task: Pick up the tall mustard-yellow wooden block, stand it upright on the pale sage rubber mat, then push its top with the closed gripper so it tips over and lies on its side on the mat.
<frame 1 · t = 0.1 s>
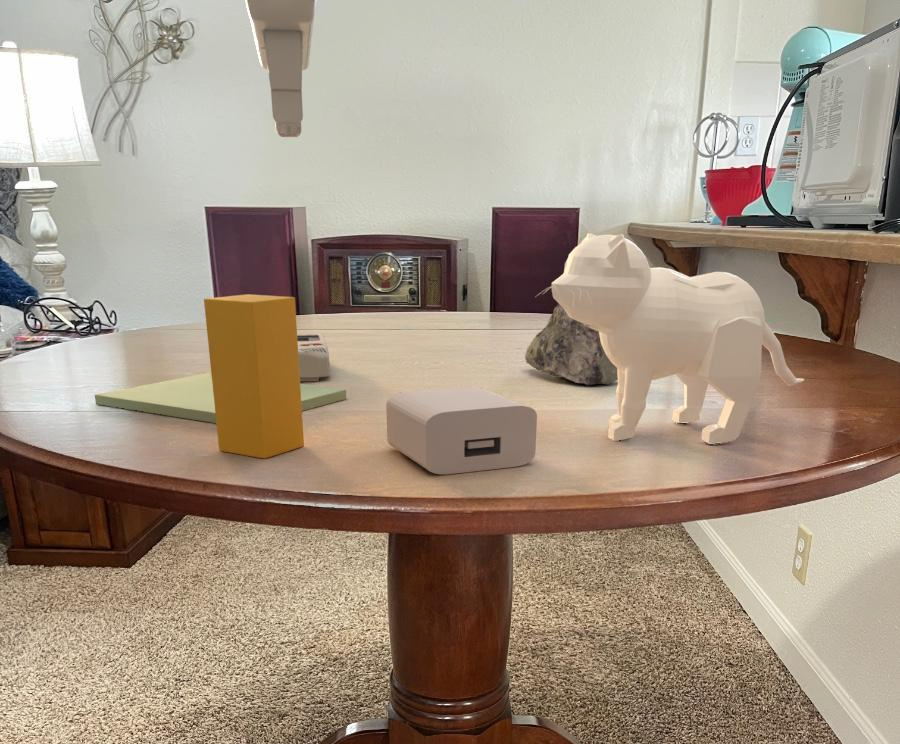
hand: (288, 131, 59), 23 cm above the table, tool pointing down, fingers open, 8 cm apart
mat: (223, 401, 93), on the table
cat figurine: (669, 435, 80), on the table
handheld gaming device: (291, 373, 110), on the table
charger: (444, 451, 75), on the table
mineral rock: (572, 379, 107), on the table
block: (262, 448, 74), on the table
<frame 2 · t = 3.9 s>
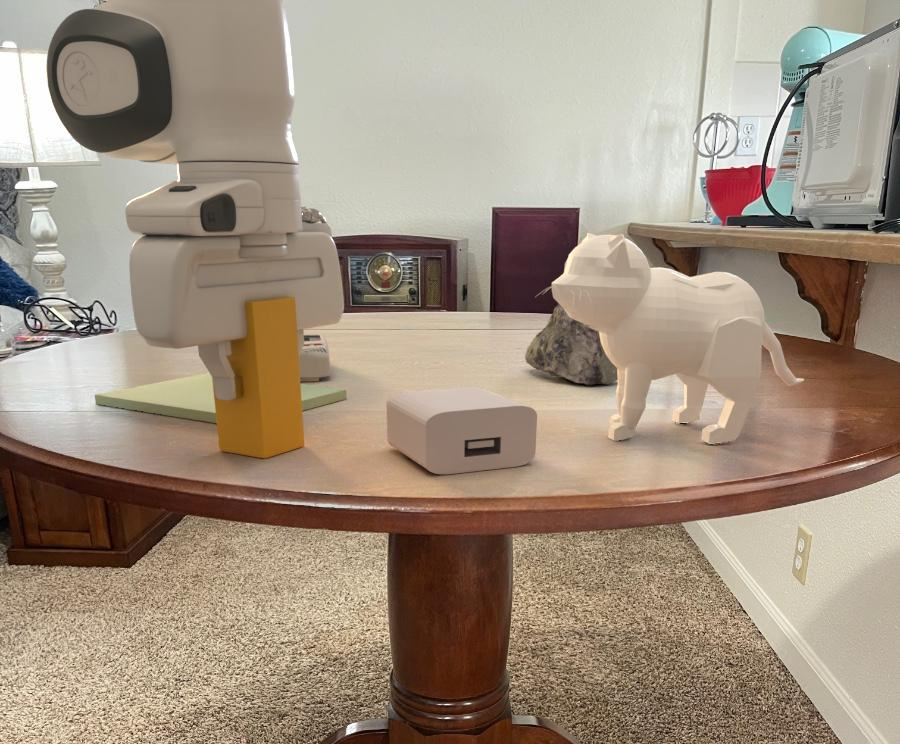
hand: (257, 392, 72), 5 cm above the table, tool pointing down, fingers closed on block, 5 cm apart
block: (262, 448, 74), on the table, touching gripper
everything else where it was.
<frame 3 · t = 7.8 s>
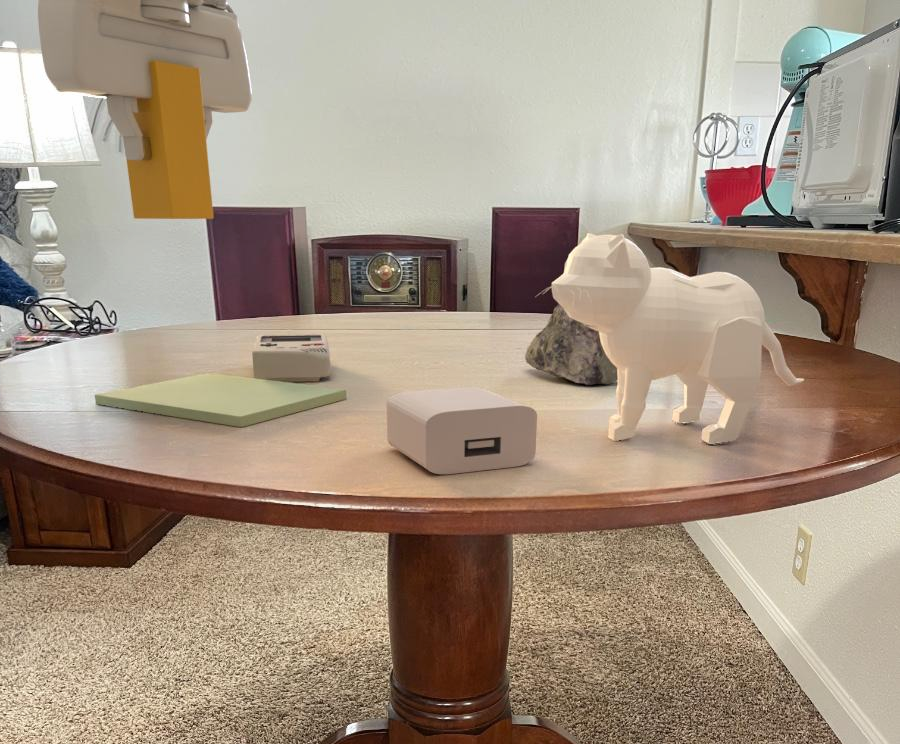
hand: (167, 162, 79), 22 cm above the table, tool pointing down, fingers closed on block, 5 cm apart
block: (174, 218, 81), point 18 cm above the table, touching gripper
everything else where it was.
when the fingers open (5 cm above the table, at t = 11.9 s): block stays where it is, resting on mat.
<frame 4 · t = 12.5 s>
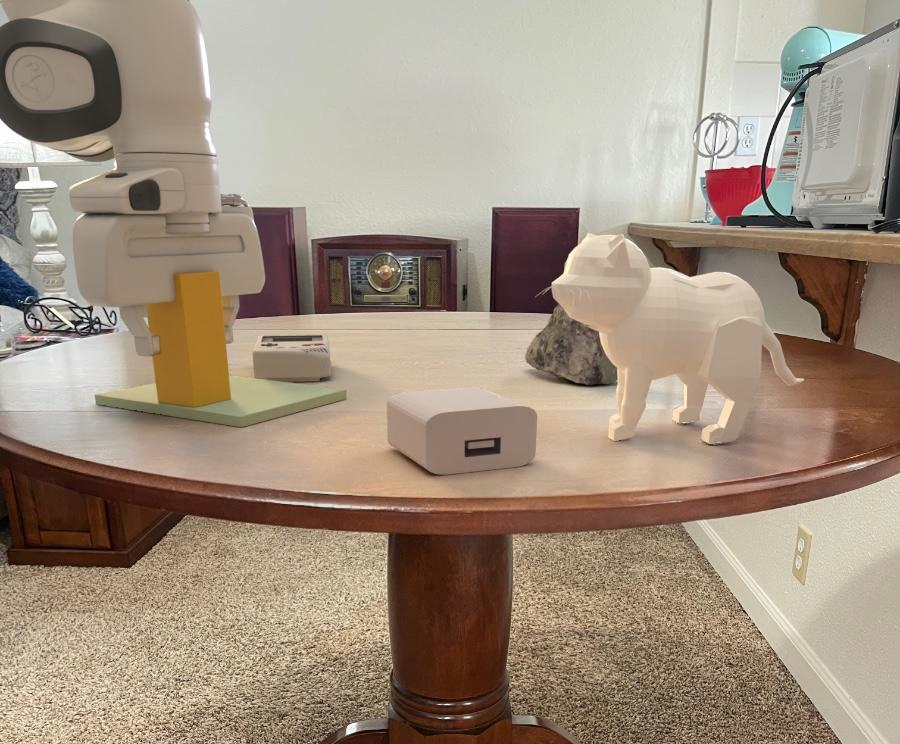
hand: (187, 349, 86), 6 cm above the table, tool pointing down, fingers open, 8 cm apart
block: (195, 400, 88), point 1 cm above the table, touching mat
everything else where it was.
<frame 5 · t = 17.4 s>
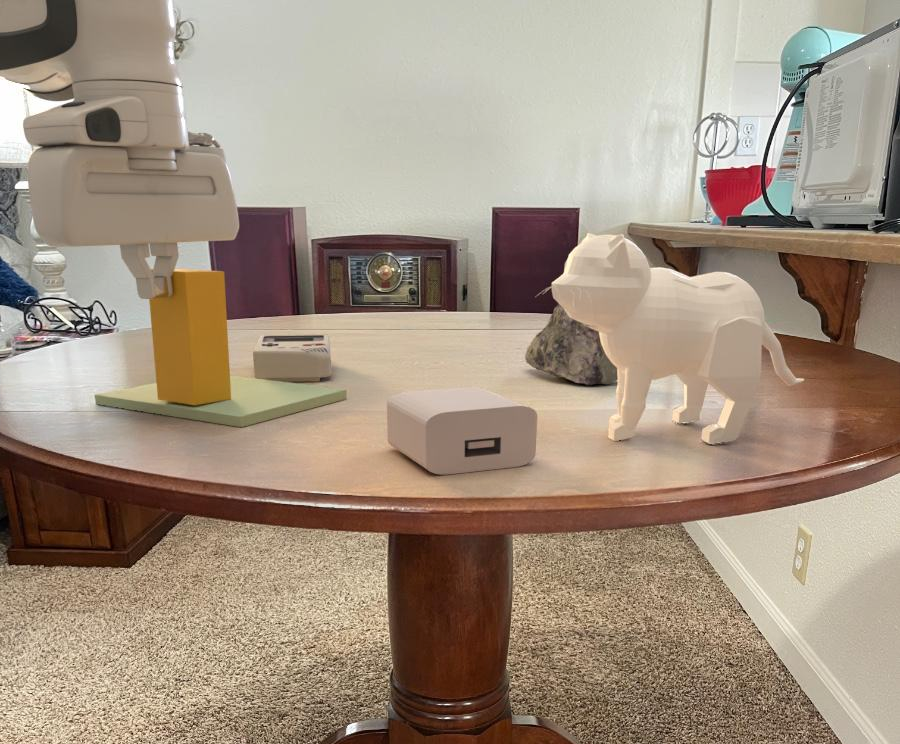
hand: (156, 297, 81), 11 cm above the table, tool pointing down, fingers closed
block: (194, 399, 88), point 1 cm above the table, touching gripper, mat
everything else where it was.
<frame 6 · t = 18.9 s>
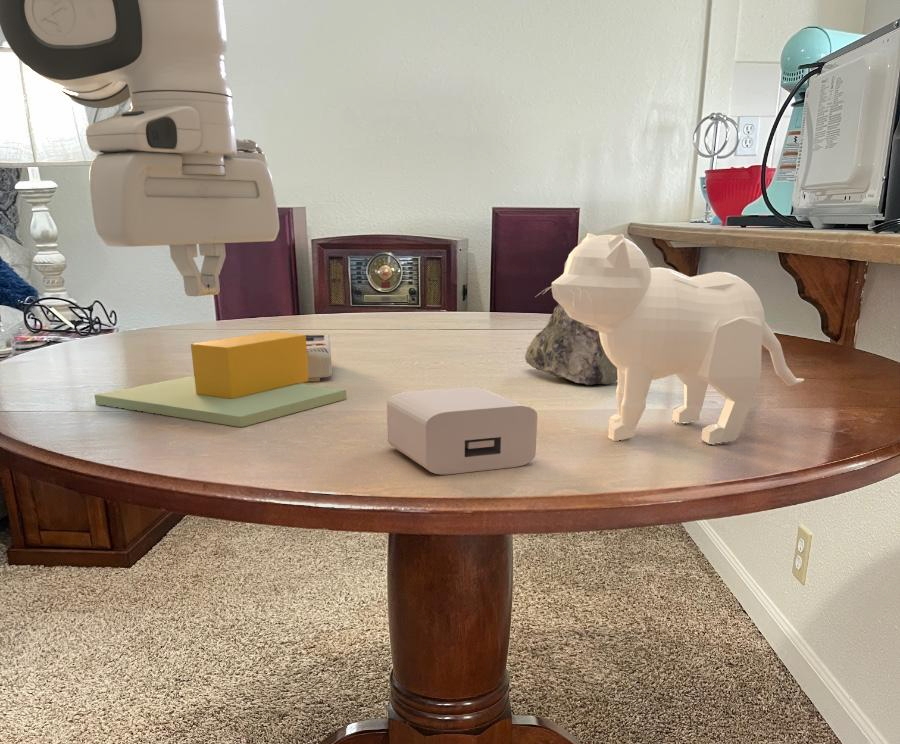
hand: (203, 295, 86), 11 cm above the table, tool pointing down, fingers closed
block: (211, 371, 89), point 3 cm above the table, tilted 90°, touching mat
everything else where it was.
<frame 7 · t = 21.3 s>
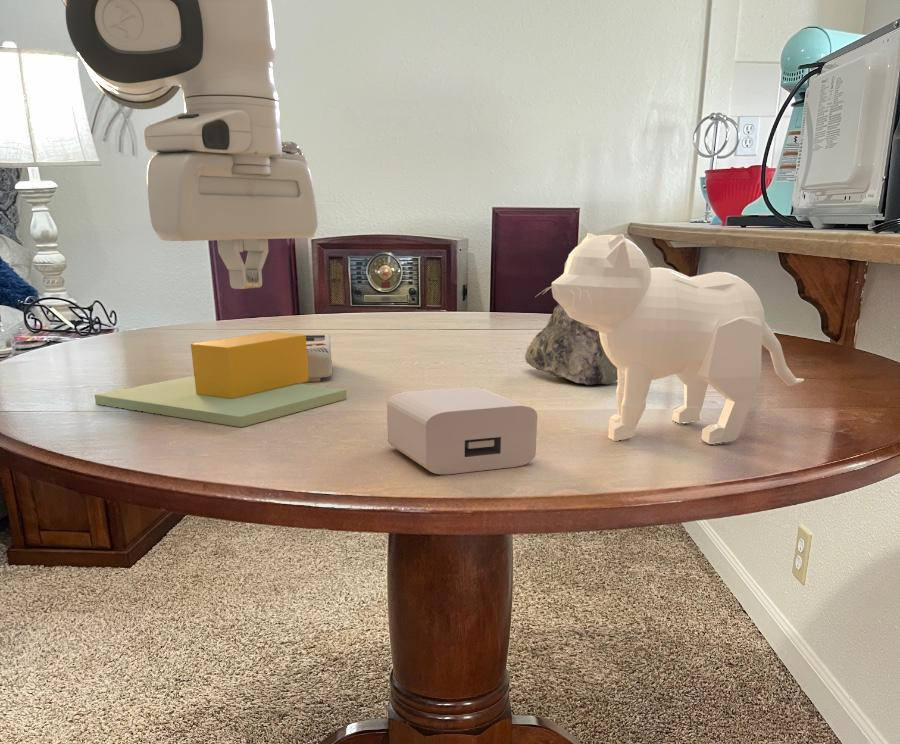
hand: (246, 288, 91), 11 cm above the table, tool pointing down, fingers closed
nothing on the table moved.
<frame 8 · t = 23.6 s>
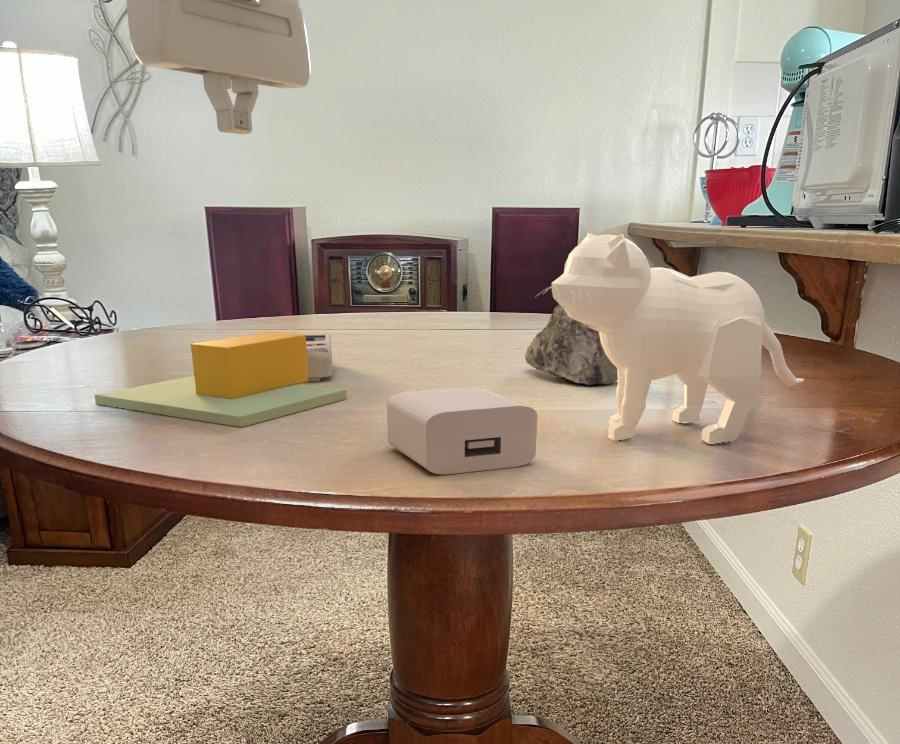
hand: (235, 132, 85), 25 cm above the table, tool pointing down, fingers closed
nothing on the table moved.
at the end: block tilted 90°; block inside the target area on the mat (2.5 cm from its centre), point 3.5 cm above the mat's base; block moved 19.5 cm from its start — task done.
